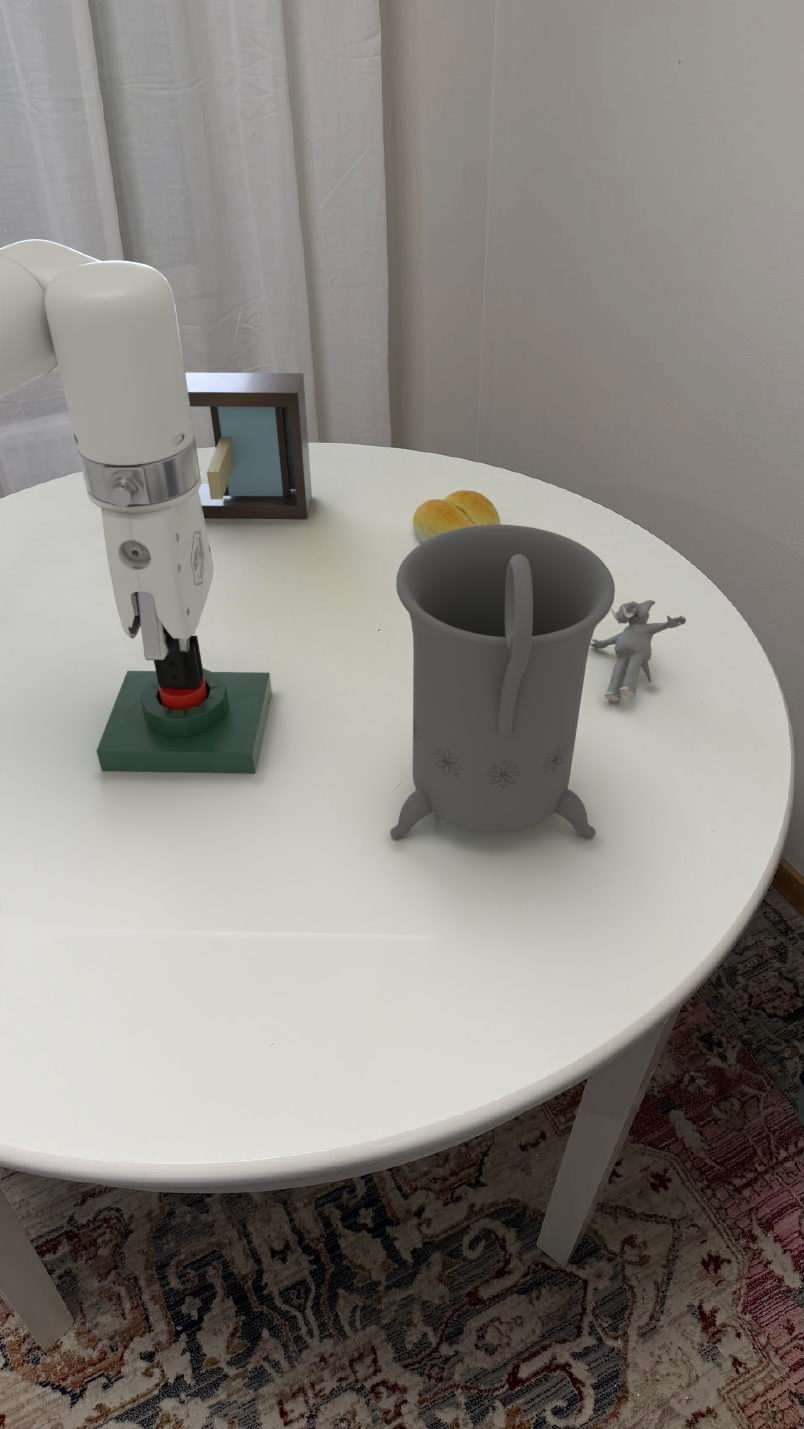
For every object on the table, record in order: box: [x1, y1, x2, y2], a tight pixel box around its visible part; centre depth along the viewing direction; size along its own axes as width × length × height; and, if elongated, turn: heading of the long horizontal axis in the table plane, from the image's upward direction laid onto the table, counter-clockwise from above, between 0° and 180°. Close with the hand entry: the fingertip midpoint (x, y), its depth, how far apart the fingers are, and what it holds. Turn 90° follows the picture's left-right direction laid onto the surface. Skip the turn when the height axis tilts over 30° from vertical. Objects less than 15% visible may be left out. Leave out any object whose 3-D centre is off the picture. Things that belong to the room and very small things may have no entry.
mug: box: [389, 524, 616, 840], centre depth 67 cm, size 19×15×25 cm
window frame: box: [185, 372, 313, 520], centre depth 105 cm, size 18×5×14 cm, turn 88°
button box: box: [95, 668, 273, 775], centre depth 80 cm, size 12×10×4 cm
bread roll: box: [412, 489, 502, 543], centre depth 104 cm, size 8×9×4 cm
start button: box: [158, 676, 208, 710], centre depth 79 cm, size 4×4×2 cm
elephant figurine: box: [590, 599, 687, 703], centre depth 85 cm, size 10×6×9 cm
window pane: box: [206, 407, 291, 499], centre depth 102 cm, size 7×8×10 cm
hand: (181, 682), depth 79 cm, fingers closed
